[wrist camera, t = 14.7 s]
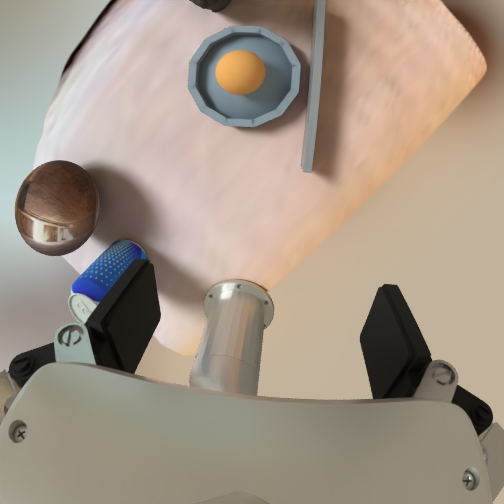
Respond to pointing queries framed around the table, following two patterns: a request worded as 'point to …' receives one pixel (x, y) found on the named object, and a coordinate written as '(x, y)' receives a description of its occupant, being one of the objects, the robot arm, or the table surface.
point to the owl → (212, 4)
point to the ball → (240, 72)
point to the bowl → (259, 101)
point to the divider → (314, 85)
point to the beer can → (102, 277)
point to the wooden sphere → (57, 208)
